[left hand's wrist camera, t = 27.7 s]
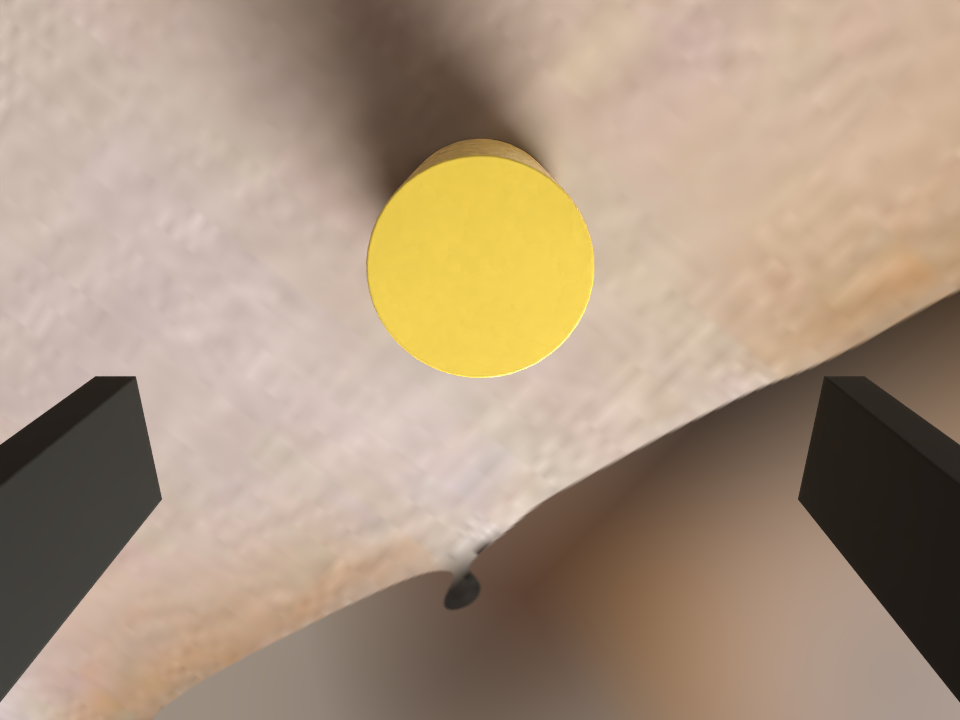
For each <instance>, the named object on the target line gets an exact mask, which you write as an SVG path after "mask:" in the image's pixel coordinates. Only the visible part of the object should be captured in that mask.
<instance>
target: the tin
mask: <svg viewBox="0 0 960 720" xmlns="http://www.w3.org/2000/svg"><path fill="white" fill-rule="evenodd" d="M366 265H367V281H368V287H369V292H370V295H371V299H372V302H373V305H374V307H375V309H376V312H377V314H378V316H379V318H380V320H381V321H382V323H383V325H384V326H385V328H386V329H387V331H388V332H389V333H390V335H391V336H392V337H393V338H394V339H395V341H396V342H397V343H398V344H399V345H400V346H401V347H403V348H404V349H405V350H406V351H407V352H408V353H410V354H411V355H412V356H414V357H415V358H416V359H418V360H420V361H421V362H423V363H425V364H427V365H428V366H430V367H433V368H435V369H438V370H440V371H442V372H446V373H450V374H453V375H457V376H464V377H473V378H487V377H498V376H503V375H507V374H512V373H515V372H518V371H520V370H523V369H526V368H528V367H530V366H532V365H534V364H536V363H538V362H539V361H541V360H543V359H544V358H546V357H547V356H549V355H550V354H551V353H552V352H554V351H555V350H556V349H557V348H558V347H560V345H561V344H562V343H563V342H564V341H565V340H566V339H567V338H568V337H569V336H570V334H571V333H572V332H573V330H574V329H575V327H576V326H577V325H578V323H579V321H580V319H581V317H582V315H583V313H584V312H585V309H586V306H587V304H588V301H589V298H590V294H591V290H592V286H593V278H594V253H593V247H592V241H591V238H590V235H589V231H588V228H587V225H586V223H585V221H584V219H583V217H582V215H581V213H580V211H579V210H578V208H577V206H576V205H575V203H574V202H573V200H572V199H571V198H570V197H569V196H568V194H567V193H566V192H565V191H564V190H563V189H562V188H561V186H560V185H559V184H558V183H557V182H556V181H555V180H554V179H553V178H552V177H551V176H550V175H549V174H548V172H547V171H546V170H545V169H544V168H543V167H542V166H541V165H540V164H539V163H538V162H537V161H536V160H535V159H534V158H532V157H531V156H530V155H529V154H527V153H526V152H524V151H523V150H521V149H519V148H517V147H515V146H513V145H511V144H508V143H505V142H502V141H497V140H492V139H469V140H463V141H459V142H455V143H453V144H450V145H448V146H445V147H443V148H442V149H440V150H438V151H436V152H435V153H433V154H432V155H431V156H429V157H428V158H427V159H426V160H425V161H424V162H423V163H422V164H421V165H420V166H419V167H418V168H417V169H416V170H415V171H414V172H413V173H412V174H411V175H410V176H409V177H408V179H407V180H406V181H405V182H404V183H403V184H402V185H401V186H400V187H399V188H398V189H397V190H396V192H395V193H394V194H393V195H392V196H391V198H390V199H389V200H388V202H387V203H386V204H385V206H384V207H383V209H382V211H381V213H380V214H379V216H378V218H377V220H376V223H375V225H374V228H373V230H372V233H371V237H370V241H369V245H368V252H367V261H366Z"/></svg>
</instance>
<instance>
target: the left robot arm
mask: <svg viewBox="0 0 960 720" xmlns="http://www.w3.org/2000/svg"><path fill="white" fill-rule="evenodd" d="M161 500H162V497H161V492H160V488H159V483H158V478H157V474H156V469H155V464H154V460H153V455H152V450H151V446H150V441H149V436H148V432H147V427H146V422H145V418H144V413H143V408H142V404H141V399H140V394H139V390H138V385H137V380H136V376H95V377H94V378H93V379H91V380H90V381H88V382H87V383H86V384H84V385H83V386H82V387H80V388H79V389H77V390H76V391H75V392H73V393H72V394H70V395H69V396H68V397H66V398H65V399H63V400H62V401H61V402H59V403H58V404H56V405H55V406H54V407H52V408H51V409H50V410H48V411H47V412H45V413H44V414H43V415H41V416H40V417H38V418H37V419H36V420H34V421H33V422H31V423H30V424H29V425H27V426H26V427H24V428H23V429H22V430H20V431H19V432H18V433H16V434H15V435H13V436H12V437H11V438H9V439H8V440H6V441H5V442H4V443H2V444H1V445H0V702H1V701H2V699H3V698H4V697H5V696H6V694H7V693H8V692H9V691H10V689H11V688H12V687H13V686H14V684H15V683H16V682H17V681H18V679H19V678H20V677H21V676H22V674H23V673H24V672H25V671H26V669H27V668H28V667H29V666H30V664H31V663H32V662H33V660H34V659H35V658H36V657H37V655H38V654H39V653H40V652H41V650H42V649H43V648H44V647H45V645H46V644H47V643H48V642H49V640H50V639H51V638H52V637H53V635H54V634H55V633H56V632H57V630H58V629H59V628H60V627H61V625H62V624H63V623H64V622H65V620H66V619H67V618H68V617H69V615H70V614H71V613H72V612H73V610H74V609H75V608H76V607H77V605H78V604H79V603H80V601H81V600H82V599H83V598H84V596H85V595H86V594H87V593H88V591H89V590H90V589H91V588H92V586H93V585H94V584H95V583H96V581H97V580H98V579H99V578H100V576H101V575H102V574H103V573H104V571H105V570H106V569H107V568H108V566H109V565H110V564H111V563H112V561H113V560H114V559H115V558H116V556H117V555H118V554H119V553H120V551H121V550H122V549H123V548H124V546H125V545H126V544H127V543H128V541H129V540H130V539H131V537H132V536H133V535H134V534H135V532H136V531H137V530H138V529H139V527H140V526H141V525H142V524H143V522H144V521H145V520H146V519H147V517H148V516H149V515H150V514H151V512H152V511H153V510H154V509H155V507H156V506H157V505H158V504H159V502H160V501H161ZM798 500H799V501H800V502H801V504H802V505H803V506H804V507H805V509H806V510H807V511H808V512H809V514H810V515H811V516H812V517H813V519H814V520H815V521H816V522H817V524H818V525H819V526H820V527H821V529H822V530H823V531H824V532H825V534H826V535H827V536H828V537H829V539H830V540H831V541H832V543H833V544H834V545H835V546H836V547H837V549H838V550H839V551H840V553H841V554H842V555H843V556H844V558H845V559H846V560H847V561H848V563H849V564H850V565H851V566H852V568H853V569H854V570H855V571H856V573H857V574H858V575H859V576H860V578H861V579H862V580H863V581H864V583H865V584H866V585H867V586H868V588H869V589H870V590H871V591H872V593H873V594H874V595H875V596H876V598H877V599H878V600H879V601H880V603H881V604H882V605H883V606H884V608H885V609H886V610H887V612H888V613H889V614H890V615H891V617H892V618H893V619H894V620H895V622H896V623H897V624H898V625H899V627H900V628H901V629H902V630H903V632H904V633H905V634H906V635H907V637H908V638H909V639H910V640H911V642H912V643H913V644H914V645H915V647H916V648H917V649H918V650H919V652H920V653H921V654H922V655H923V657H924V658H925V659H926V660H927V662H928V663H929V664H930V665H931V667H932V668H933V669H934V671H935V672H936V673H937V674H938V676H939V677H940V678H941V679H942V681H943V682H944V683H945V684H946V686H947V687H948V688H949V689H950V691H951V692H952V693H953V694H954V696H955V697H956V698H957V699H958V701H959V702H960V445H959V444H958V443H956V442H955V441H954V440H952V439H951V438H949V437H948V436H947V435H945V434H944V433H942V432H941V431H940V430H938V429H937V428H936V427H934V426H933V425H931V424H930V423H928V422H927V421H926V420H924V419H923V418H922V417H920V416H919V415H917V414H916V413H915V412H913V411H912V410H910V409H909V408H908V407H906V406H905V405H904V404H902V403H901V402H899V401H898V400H897V399H895V398H894V397H892V396H891V395H890V394H888V393H887V392H885V391H884V390H883V389H881V388H880V387H878V386H877V385H876V384H874V383H873V382H872V381H870V380H869V379H867V378H866V377H864V376H825V377H824V380H823V385H822V390H821V394H820V399H819V404H818V408H817V413H816V418H815V422H814V427H813V432H812V436H811V441H810V446H809V450H808V455H807V460H806V464H805V469H804V474H803V478H802V483H801V488H800V492H799V497H798Z"/></svg>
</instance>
